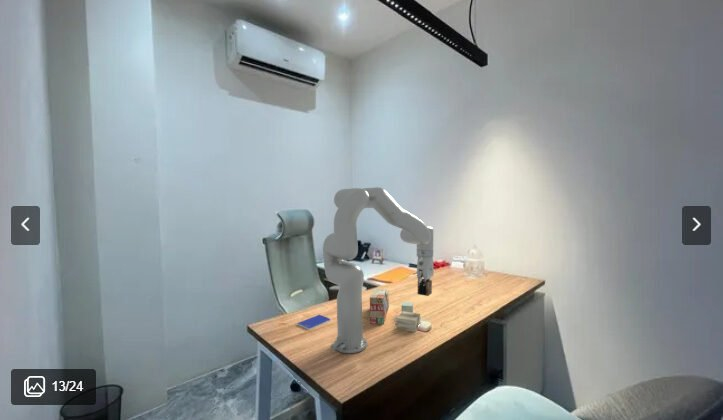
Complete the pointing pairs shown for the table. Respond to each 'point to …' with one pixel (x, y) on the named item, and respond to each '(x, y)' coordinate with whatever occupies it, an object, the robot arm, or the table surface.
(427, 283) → the walnut block
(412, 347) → the table surface
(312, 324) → the hard drive
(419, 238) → the robot arm
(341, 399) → the table surface
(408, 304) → the sage block
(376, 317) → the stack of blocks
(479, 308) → the table surface
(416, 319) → the grey stepped block
